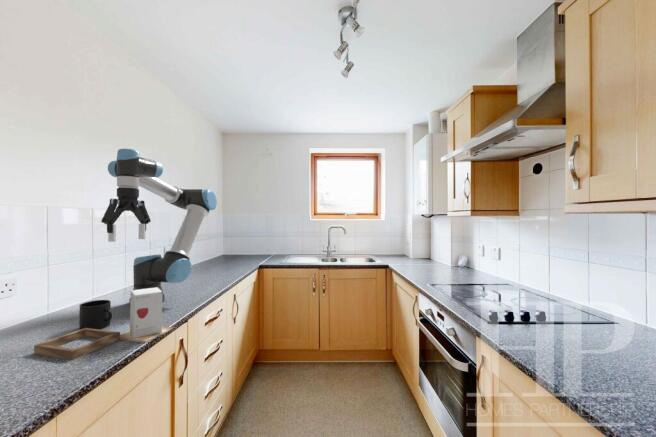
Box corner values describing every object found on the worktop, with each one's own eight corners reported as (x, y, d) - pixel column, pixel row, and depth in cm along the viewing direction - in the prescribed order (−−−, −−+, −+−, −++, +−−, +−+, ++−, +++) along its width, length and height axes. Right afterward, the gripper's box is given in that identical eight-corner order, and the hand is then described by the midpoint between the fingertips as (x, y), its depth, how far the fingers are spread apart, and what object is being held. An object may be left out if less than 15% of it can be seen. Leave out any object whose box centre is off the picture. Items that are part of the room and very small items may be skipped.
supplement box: (132, 338, 103) (133, 295, 103) (129, 331, 110) (129, 290, 109) (162, 332, 108) (162, 291, 108) (157, 325, 115) (157, 286, 115)
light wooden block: (145, 325, 117) (145, 324, 117) (173, 329, 113) (173, 327, 113) (114, 338, 104) (114, 337, 104) (145, 343, 101) (145, 341, 101)
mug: (100, 332, 110) (100, 307, 110) (72, 330, 112) (72, 305, 112) (122, 323, 119) (122, 300, 119) (96, 321, 121) (96, 299, 121)
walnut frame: (85, 334, 107) (85, 327, 107) (120, 339, 104) (120, 332, 104) (34, 353, 92) (34, 345, 92) (72, 359, 89) (72, 351, 89)
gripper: (146, 190, 135) (145, 238, 135) (89, 184, 110) (89, 242, 110) (160, 190, 133) (159, 238, 133) (105, 184, 109) (105, 243, 109)
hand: (127, 240), depth 122 cm, fingers open, 13 cm apart
